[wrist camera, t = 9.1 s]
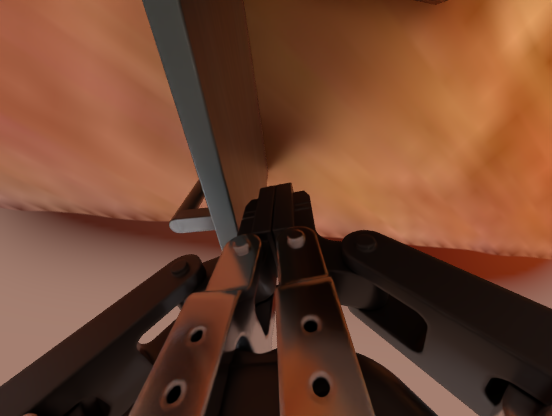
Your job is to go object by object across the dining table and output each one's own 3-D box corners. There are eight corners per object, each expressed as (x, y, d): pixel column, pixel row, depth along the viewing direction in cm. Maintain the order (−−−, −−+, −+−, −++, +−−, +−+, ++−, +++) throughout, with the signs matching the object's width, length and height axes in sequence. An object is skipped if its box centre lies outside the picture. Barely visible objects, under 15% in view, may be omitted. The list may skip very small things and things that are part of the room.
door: (217, 176, 28) (147, 308, 13) (166, -13, 19) (-254, -304, 4) (268, 171, 28) (256, 301, 12) (239, -26, 19) (77, -399, 4)
